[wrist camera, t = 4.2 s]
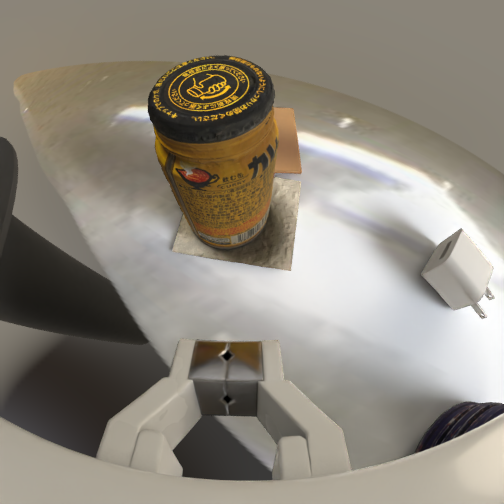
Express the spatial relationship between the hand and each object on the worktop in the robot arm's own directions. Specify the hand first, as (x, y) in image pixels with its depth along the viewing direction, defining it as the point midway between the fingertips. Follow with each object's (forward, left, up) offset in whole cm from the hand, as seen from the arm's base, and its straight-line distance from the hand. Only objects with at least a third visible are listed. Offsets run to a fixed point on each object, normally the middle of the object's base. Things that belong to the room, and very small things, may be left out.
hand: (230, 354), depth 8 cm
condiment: (+8, +6, -10) cm, 14 cm away
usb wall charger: (+14, -12, -10) cm, 21 cm away
